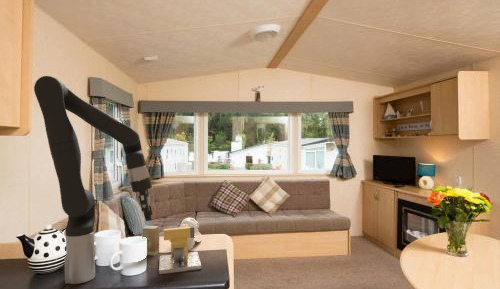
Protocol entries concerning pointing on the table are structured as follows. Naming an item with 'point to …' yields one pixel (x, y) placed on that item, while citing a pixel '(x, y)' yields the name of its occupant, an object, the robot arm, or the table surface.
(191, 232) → the yellow irregular block
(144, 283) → the table surface
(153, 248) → the skincare box
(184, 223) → the cherub figurine
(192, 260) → the post base
